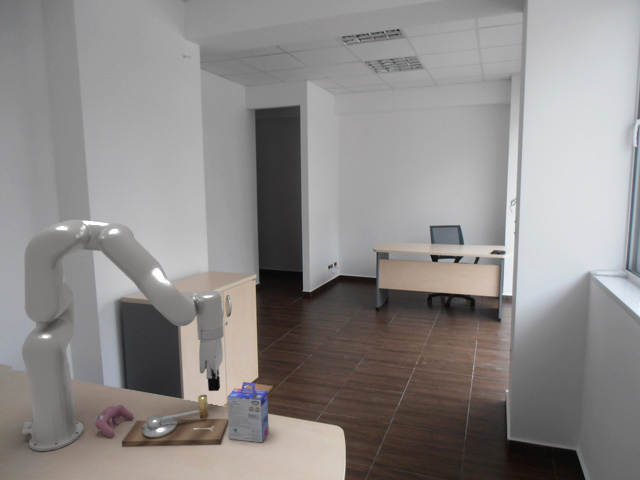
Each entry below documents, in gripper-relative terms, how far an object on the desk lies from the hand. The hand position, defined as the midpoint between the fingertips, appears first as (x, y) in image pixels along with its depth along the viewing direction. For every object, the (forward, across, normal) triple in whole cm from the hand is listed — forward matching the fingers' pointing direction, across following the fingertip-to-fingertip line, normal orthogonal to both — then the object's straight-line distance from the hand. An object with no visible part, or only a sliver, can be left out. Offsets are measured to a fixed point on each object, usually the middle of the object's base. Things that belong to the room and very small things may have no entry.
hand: (214, 389), depth 128 cm
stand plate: (+6, +14, -7) cm, 17 cm away
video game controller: (+6, +10, -26) cm, 29 cm away
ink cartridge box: (+6, +15, +13) cm, 21 cm away
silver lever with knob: (+4, +12, -8) cm, 15 cm away
